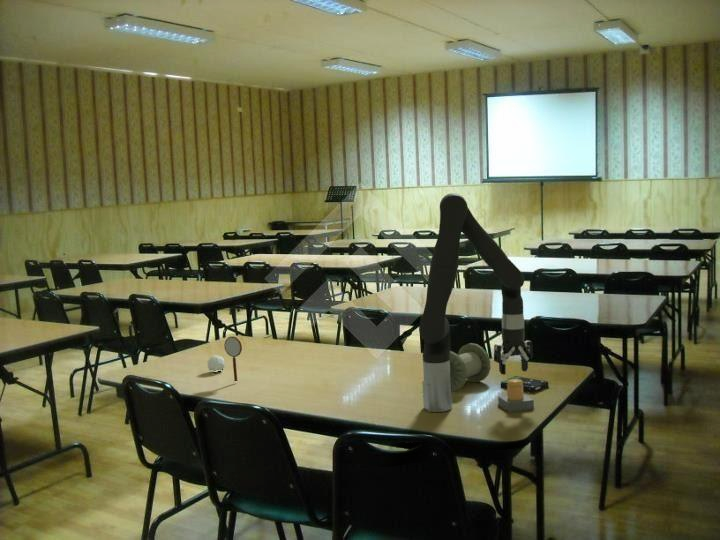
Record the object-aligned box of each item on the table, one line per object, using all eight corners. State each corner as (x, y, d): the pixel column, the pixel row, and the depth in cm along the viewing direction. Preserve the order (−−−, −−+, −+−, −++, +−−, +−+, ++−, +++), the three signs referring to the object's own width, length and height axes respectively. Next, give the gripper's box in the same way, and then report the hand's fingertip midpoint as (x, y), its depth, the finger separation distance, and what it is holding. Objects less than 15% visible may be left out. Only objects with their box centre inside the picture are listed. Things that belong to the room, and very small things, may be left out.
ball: (220, 378, 333) (223, 366, 328) (203, 373, 333) (205, 361, 328) (226, 366, 339) (228, 354, 334) (209, 361, 339) (211, 349, 334)
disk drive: (549, 388, 279) (515, 382, 289) (548, 381, 278) (515, 375, 289) (533, 395, 271) (499, 388, 282) (533, 387, 271) (499, 381, 282)
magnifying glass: (245, 383, 311) (241, 336, 308) (243, 384, 309) (239, 337, 307) (229, 382, 315) (225, 335, 313) (226, 383, 313) (222, 336, 311)
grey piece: (509, 411, 252) (508, 391, 251) (498, 404, 261) (497, 385, 260) (533, 408, 254) (533, 388, 253) (522, 401, 263) (521, 382, 262)
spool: (460, 378, 299) (458, 341, 297) (491, 383, 288) (489, 345, 286) (433, 387, 287) (431, 349, 286) (465, 393, 277) (463, 354, 275)
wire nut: (520, 400, 253) (519, 383, 253) (506, 399, 256) (505, 382, 255) (524, 396, 258) (524, 379, 257) (511, 395, 260) (510, 378, 260)
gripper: (501, 330, 248) (501, 377, 250) (537, 325, 253) (537, 372, 255) (489, 326, 255) (490, 372, 257) (524, 322, 260) (525, 367, 262)
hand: (513, 372), depth 256 cm, fingers open, 8 cm apart
